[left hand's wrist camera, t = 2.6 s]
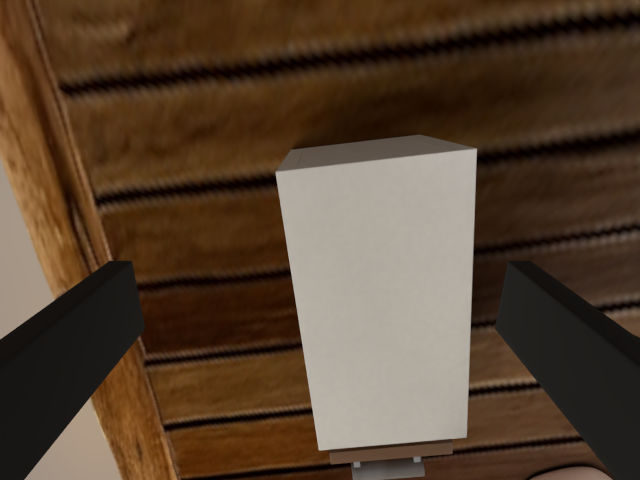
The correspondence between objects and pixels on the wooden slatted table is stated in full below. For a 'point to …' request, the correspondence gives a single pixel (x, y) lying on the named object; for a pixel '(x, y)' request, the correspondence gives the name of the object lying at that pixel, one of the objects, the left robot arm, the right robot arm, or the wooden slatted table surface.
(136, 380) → the wooden slatted table surface
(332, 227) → the cabinet
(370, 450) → the drawer
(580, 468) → the anatomical model
